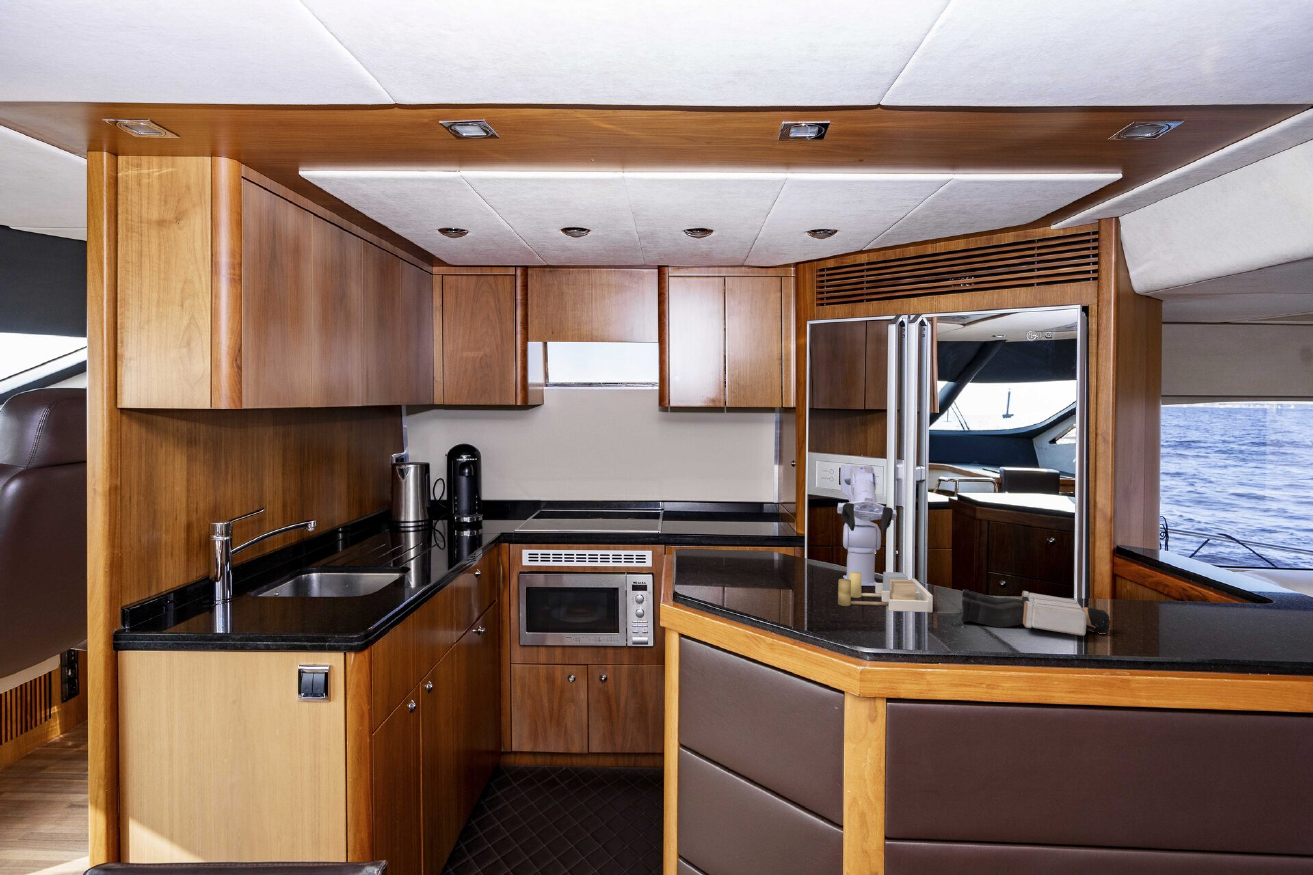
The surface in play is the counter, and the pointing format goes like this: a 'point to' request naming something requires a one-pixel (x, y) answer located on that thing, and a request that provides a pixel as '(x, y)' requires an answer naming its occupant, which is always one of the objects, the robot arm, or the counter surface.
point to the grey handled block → (887, 576)
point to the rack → (920, 603)
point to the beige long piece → (897, 592)
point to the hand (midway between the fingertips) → (868, 529)
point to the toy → (1033, 613)
